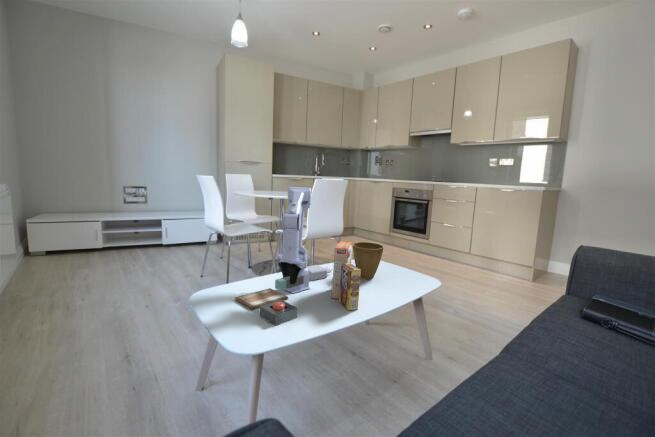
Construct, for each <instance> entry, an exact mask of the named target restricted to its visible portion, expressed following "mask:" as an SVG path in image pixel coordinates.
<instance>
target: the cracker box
mask: <svg viewBox="0 0 655 437" xmlns="http://www.w3.org/2000/svg"><path fill="white" fill-rule="evenodd" d="M353 244H354V243H353V242H352V241H342V240H340V241H339V242H338V243H337V244H336V246H334V251H333V269H332V271H333V272H332V285H331V298H332V299H335V300H339V296H340V280H341V264H345V263H350V264H352V260H353V259H352V258H353V256H352V254H353Z"/></svg>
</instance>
